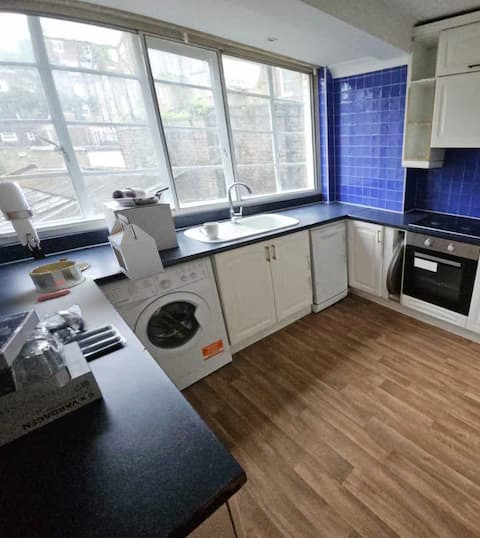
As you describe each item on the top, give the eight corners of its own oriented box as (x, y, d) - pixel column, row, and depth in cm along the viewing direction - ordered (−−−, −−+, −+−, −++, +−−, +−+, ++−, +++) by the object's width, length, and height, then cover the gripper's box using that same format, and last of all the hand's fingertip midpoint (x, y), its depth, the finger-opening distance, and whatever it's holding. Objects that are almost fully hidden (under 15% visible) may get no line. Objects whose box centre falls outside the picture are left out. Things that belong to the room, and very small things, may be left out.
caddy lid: (35, 278, 141) (29, 265, 138) (65, 265, 156) (60, 253, 154) (71, 276, 142) (66, 263, 139) (97, 263, 157) (93, 252, 154)
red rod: (38, 302, 118) (36, 299, 117) (37, 299, 119) (35, 296, 118) (71, 293, 125) (69, 290, 124) (70, 291, 126) (68, 287, 125)
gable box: (120, 270, 147) (99, 215, 136) (150, 262, 157) (132, 210, 146) (132, 281, 134) (110, 221, 123) (164, 272, 143) (146, 215, 132)
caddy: (27, 293, 126) (17, 275, 123) (58, 278, 141) (51, 261, 137) (64, 291, 127) (56, 273, 124) (92, 276, 141) (85, 259, 138)
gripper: (3, 214, 115) (24, 255, 122) (4, 220, 105) (27, 264, 111) (30, 210, 120) (49, 250, 127) (34, 215, 110) (54, 258, 116)
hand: (39, 256), depth 119 cm, fingers open, 9 cm apart
